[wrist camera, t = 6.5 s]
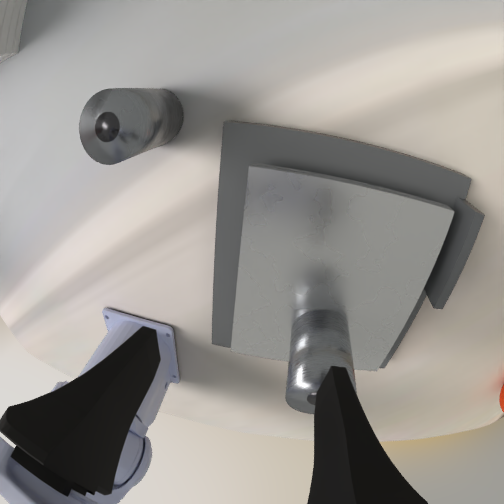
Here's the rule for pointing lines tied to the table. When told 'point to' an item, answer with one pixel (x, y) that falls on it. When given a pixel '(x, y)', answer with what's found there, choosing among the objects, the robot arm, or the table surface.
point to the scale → (344, 166)
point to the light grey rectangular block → (11, 26)
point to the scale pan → (331, 259)
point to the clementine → (502, 398)
